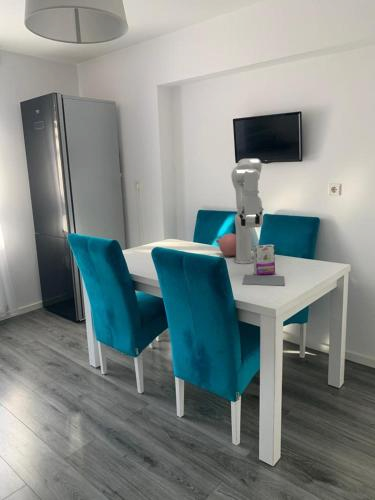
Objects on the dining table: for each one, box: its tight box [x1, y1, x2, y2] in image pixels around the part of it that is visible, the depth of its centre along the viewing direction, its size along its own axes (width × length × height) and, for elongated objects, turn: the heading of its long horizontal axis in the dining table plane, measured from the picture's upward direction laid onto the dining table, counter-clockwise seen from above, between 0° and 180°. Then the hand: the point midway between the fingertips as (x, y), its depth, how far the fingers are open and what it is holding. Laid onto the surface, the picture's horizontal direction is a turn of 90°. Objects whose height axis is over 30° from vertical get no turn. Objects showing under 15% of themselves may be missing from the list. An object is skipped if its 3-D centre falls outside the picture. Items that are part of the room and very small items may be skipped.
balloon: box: [215, 233, 236, 257], centre depth 276 cm, size 15×20×15 cm
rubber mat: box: [241, 274, 286, 287], centre depth 219 cm, size 17×22×1 cm
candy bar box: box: [252, 244, 276, 276], centre depth 230 cm, size 11×5×16 cm, turn 101°
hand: (250, 224), depth 222 cm, fingers open, 9 cm apart
